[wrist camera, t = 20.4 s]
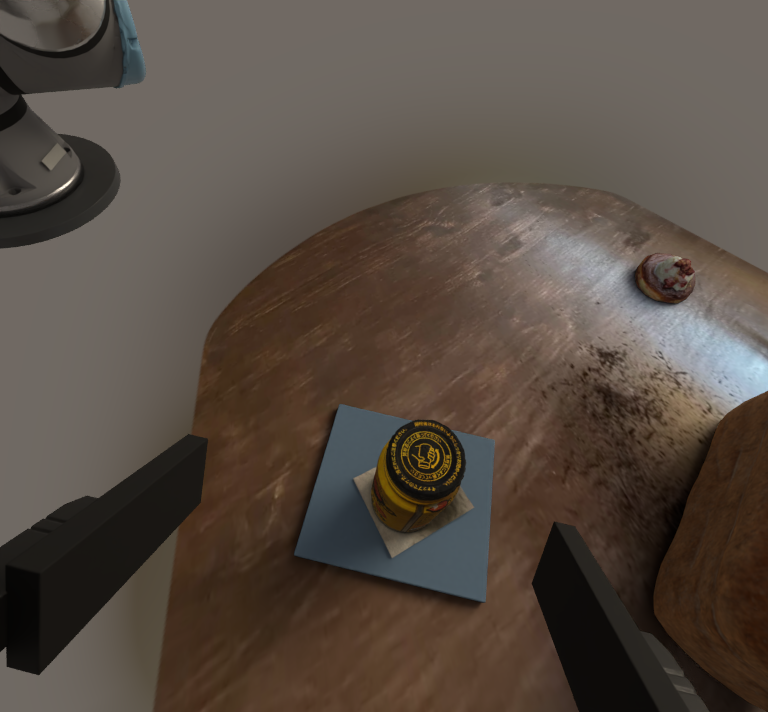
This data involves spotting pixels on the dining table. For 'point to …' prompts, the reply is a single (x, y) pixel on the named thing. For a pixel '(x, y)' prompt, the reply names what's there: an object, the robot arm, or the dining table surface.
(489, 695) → the dining table surface
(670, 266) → the pastry
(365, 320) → the dining table surface
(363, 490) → the condiment
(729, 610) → the bread
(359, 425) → the sauce mat
